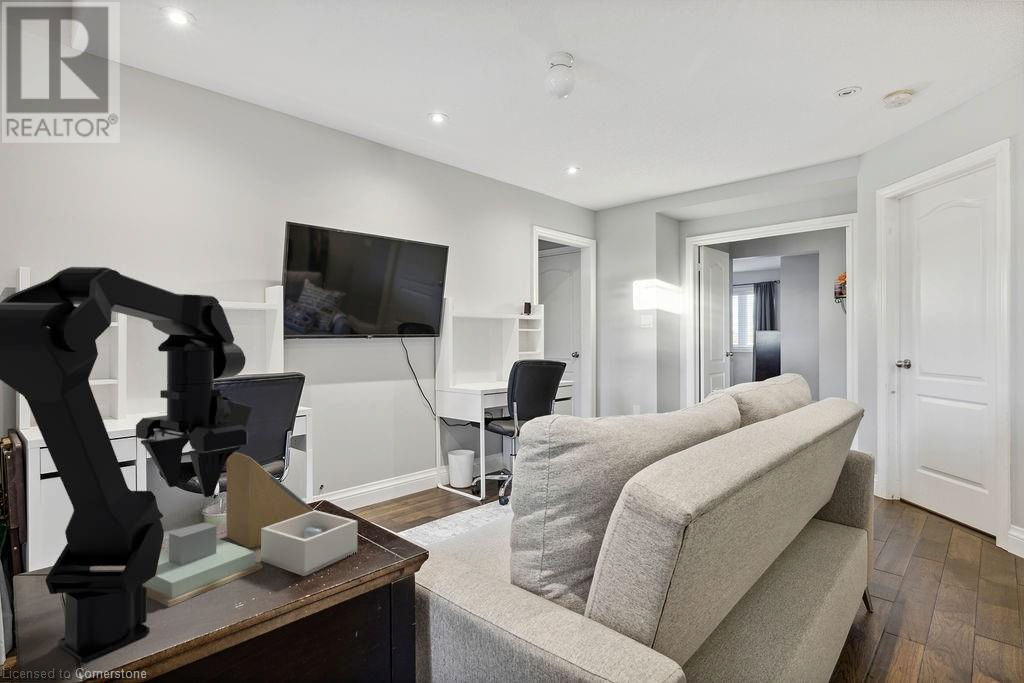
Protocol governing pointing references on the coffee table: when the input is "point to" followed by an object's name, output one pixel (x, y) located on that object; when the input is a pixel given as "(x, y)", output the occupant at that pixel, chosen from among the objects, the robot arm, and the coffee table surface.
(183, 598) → the cork mat
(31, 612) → the coffee table surface
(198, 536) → the lid
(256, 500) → the wooden ramp
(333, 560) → the storage box
